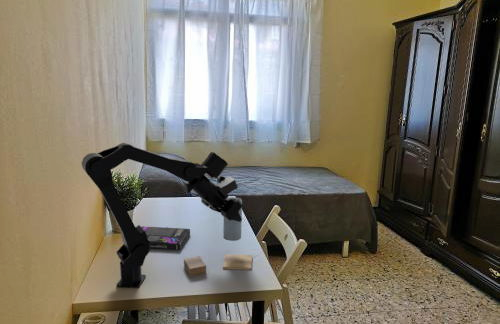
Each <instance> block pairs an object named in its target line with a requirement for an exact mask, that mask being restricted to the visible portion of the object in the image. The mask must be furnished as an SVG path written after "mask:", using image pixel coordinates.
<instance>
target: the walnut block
mask: <svg viewBox="0 0 500 324" xmlns="http://www.w3.org/2000/svg"><path fill="white" fill-rule="evenodd" d="M183 268H184V269H185V271H186V273H187V275H188V276H189V278H193V277H198V276H203V275H207V265H206V264H205V262H204V261H203V260H202V258H201V257H200V256H193V257H189V258H184V259H183Z"/></svg>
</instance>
